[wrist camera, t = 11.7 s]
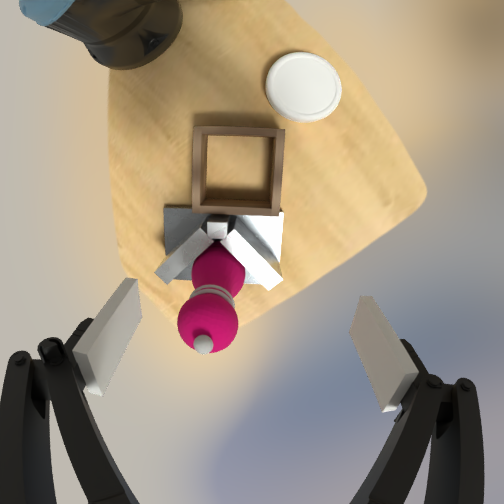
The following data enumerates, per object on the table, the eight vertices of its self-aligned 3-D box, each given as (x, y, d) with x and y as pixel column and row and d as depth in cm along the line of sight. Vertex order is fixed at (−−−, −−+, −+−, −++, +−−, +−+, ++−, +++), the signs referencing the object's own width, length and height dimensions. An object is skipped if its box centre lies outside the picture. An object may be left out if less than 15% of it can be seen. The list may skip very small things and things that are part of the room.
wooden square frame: (200, 128, 36) (193, 126, 32) (281, 131, 36) (285, 129, 32) (199, 204, 40) (192, 213, 36) (276, 208, 40) (279, 217, 36)
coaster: (329, 130, 36) (336, 129, 33) (259, 115, 36) (260, 112, 33) (340, 68, 33) (347, 62, 30) (271, 51, 32) (273, 43, 29)
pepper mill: (193, 277, 43) (160, 369, 24) (201, 232, 40) (164, 308, 22) (240, 287, 44) (234, 384, 25) (250, 243, 41) (252, 326, 22)
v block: (169, 275, 44) (156, 298, 38) (165, 206, 40) (149, 218, 34) (276, 281, 45) (280, 305, 38) (282, 210, 41) (288, 224, 34)
